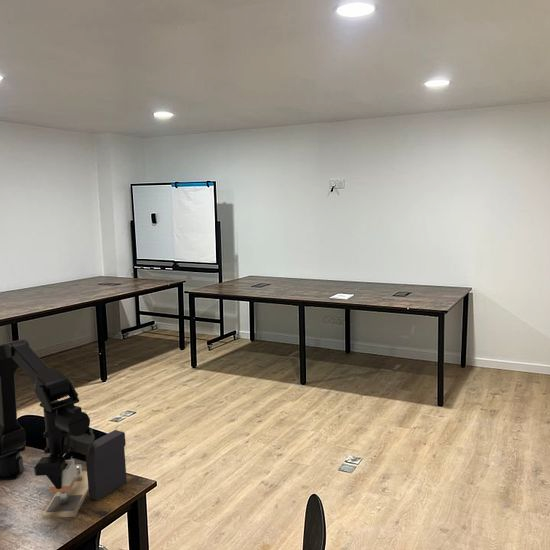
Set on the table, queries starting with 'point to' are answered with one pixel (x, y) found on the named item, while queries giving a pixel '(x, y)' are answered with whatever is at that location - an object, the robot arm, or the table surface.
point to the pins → (78, 474)
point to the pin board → (75, 500)
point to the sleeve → (65, 478)
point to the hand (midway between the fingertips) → (62, 483)
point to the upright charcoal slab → (106, 465)
